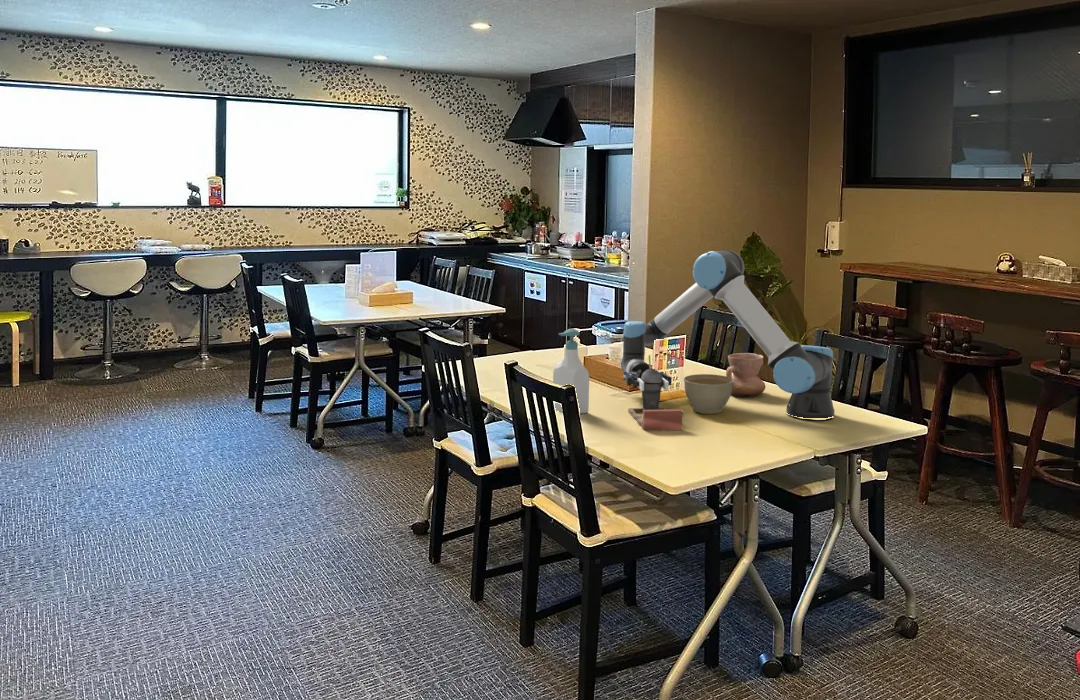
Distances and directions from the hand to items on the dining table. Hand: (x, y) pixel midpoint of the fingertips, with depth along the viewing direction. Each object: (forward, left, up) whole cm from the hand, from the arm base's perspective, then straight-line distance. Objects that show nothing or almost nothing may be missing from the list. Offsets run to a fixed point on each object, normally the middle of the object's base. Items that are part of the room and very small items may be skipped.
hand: (655, 386), depth 288 cm
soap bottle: (+24, +16, -11) cm, 31 cm away
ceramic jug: (+9, -52, -11) cm, 54 cm away
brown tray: (0, 0, -11) cm, 11 cm away
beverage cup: (+4, -2, -11) cm, 12 cm away
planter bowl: (-1, -23, -11) cm, 26 cm away
